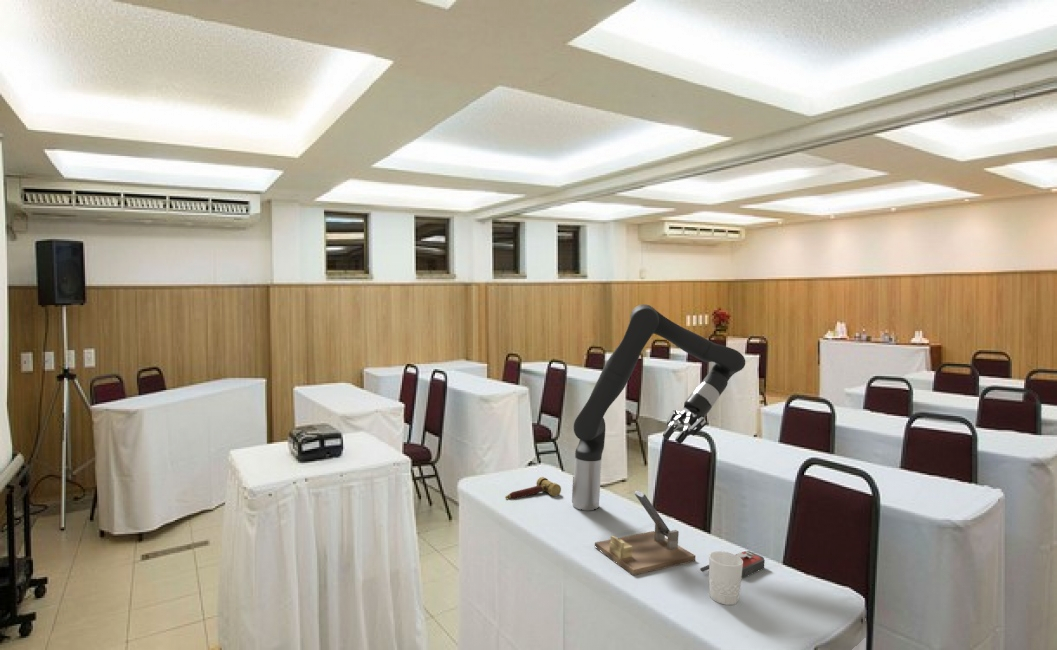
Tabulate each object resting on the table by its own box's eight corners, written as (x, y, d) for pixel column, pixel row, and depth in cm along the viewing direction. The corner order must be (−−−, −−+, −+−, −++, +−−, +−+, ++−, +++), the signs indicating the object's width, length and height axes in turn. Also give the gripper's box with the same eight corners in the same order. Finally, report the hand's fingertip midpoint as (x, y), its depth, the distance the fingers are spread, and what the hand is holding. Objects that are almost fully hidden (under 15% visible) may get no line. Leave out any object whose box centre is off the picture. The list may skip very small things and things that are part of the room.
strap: (633, 493, 161) (637, 489, 161) (661, 534, 167) (665, 530, 167) (641, 498, 158) (645, 493, 158) (670, 539, 164) (673, 534, 164)
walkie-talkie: (740, 556, 164) (697, 573, 152) (741, 541, 164) (698, 557, 152) (768, 568, 157) (725, 587, 145) (769, 552, 157) (726, 570, 145)
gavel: (512, 495, 197) (498, 487, 205) (512, 508, 197) (498, 499, 205) (561, 483, 208) (546, 475, 216) (561, 495, 208) (546, 487, 217)
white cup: (722, 609, 134) (725, 568, 134) (700, 592, 141) (702, 553, 141) (747, 603, 137) (750, 563, 137) (724, 587, 144) (726, 549, 144)
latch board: (594, 547, 165) (595, 525, 164) (653, 535, 175) (654, 515, 175) (633, 575, 149) (634, 551, 148) (695, 560, 159) (696, 538, 159)
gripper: (680, 388, 184) (649, 427, 179) (713, 396, 172) (681, 437, 167) (691, 403, 187) (661, 442, 182) (724, 412, 174) (693, 453, 169)
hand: (671, 439), depth 174 cm, fingers open, 5 cm apart
